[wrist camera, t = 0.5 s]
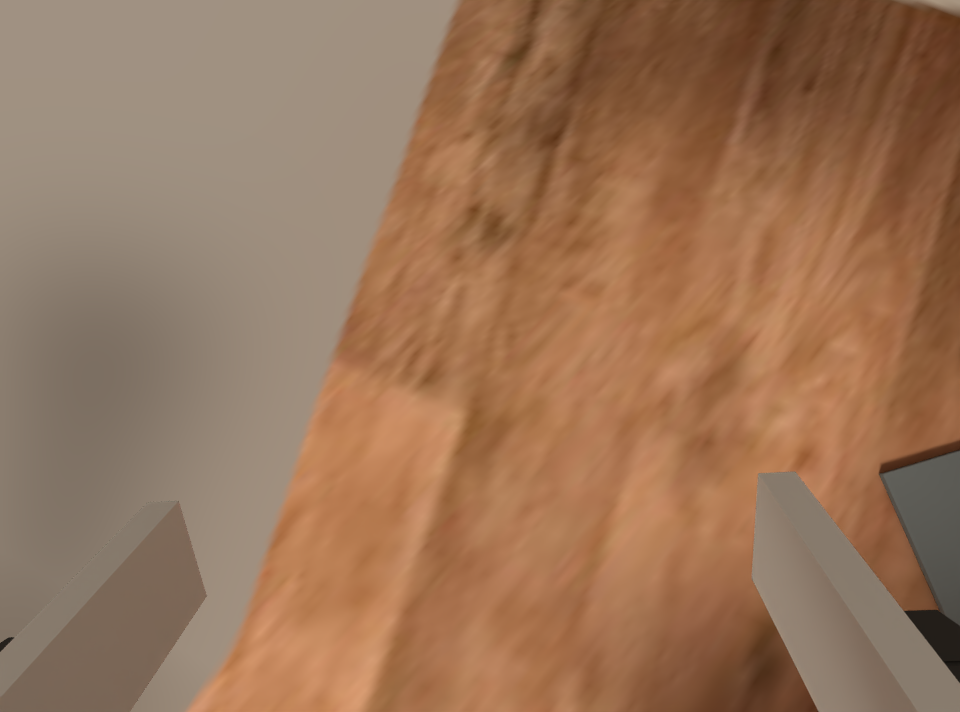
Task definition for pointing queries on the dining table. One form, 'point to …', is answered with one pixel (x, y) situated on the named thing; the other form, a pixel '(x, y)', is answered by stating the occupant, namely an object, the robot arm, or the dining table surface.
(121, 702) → the robot arm
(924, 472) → the mat
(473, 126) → the dining table surface
